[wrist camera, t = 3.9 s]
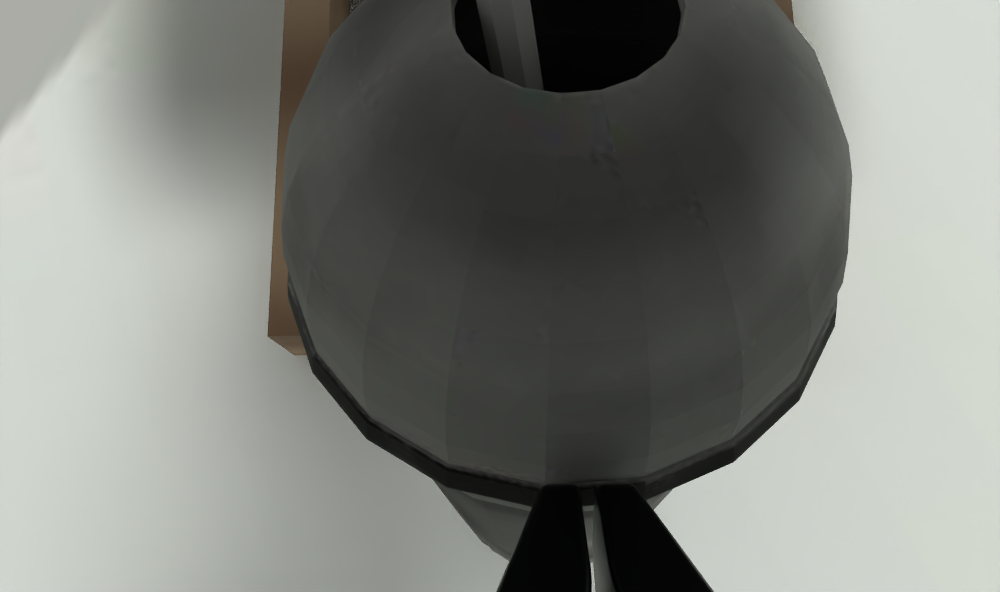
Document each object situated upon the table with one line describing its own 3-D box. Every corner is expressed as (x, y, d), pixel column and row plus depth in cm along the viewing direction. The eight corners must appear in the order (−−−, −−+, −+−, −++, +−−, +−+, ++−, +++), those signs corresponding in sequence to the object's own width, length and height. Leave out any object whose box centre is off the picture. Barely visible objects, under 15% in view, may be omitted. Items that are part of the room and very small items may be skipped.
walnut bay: (794, 345, 23) (828, 325, 20) (294, 355, 23) (267, 336, 20) (754, -53, 26) (778, -112, 23) (311, -41, 26) (290, -98, 23)
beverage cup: (644, 687, 19) (1902, -117, 1) (356, 562, 21) (-721, -556, 3) (731, 403, 22) (1470, -954, 5) (474, 313, 24) (286, -954, 6)
